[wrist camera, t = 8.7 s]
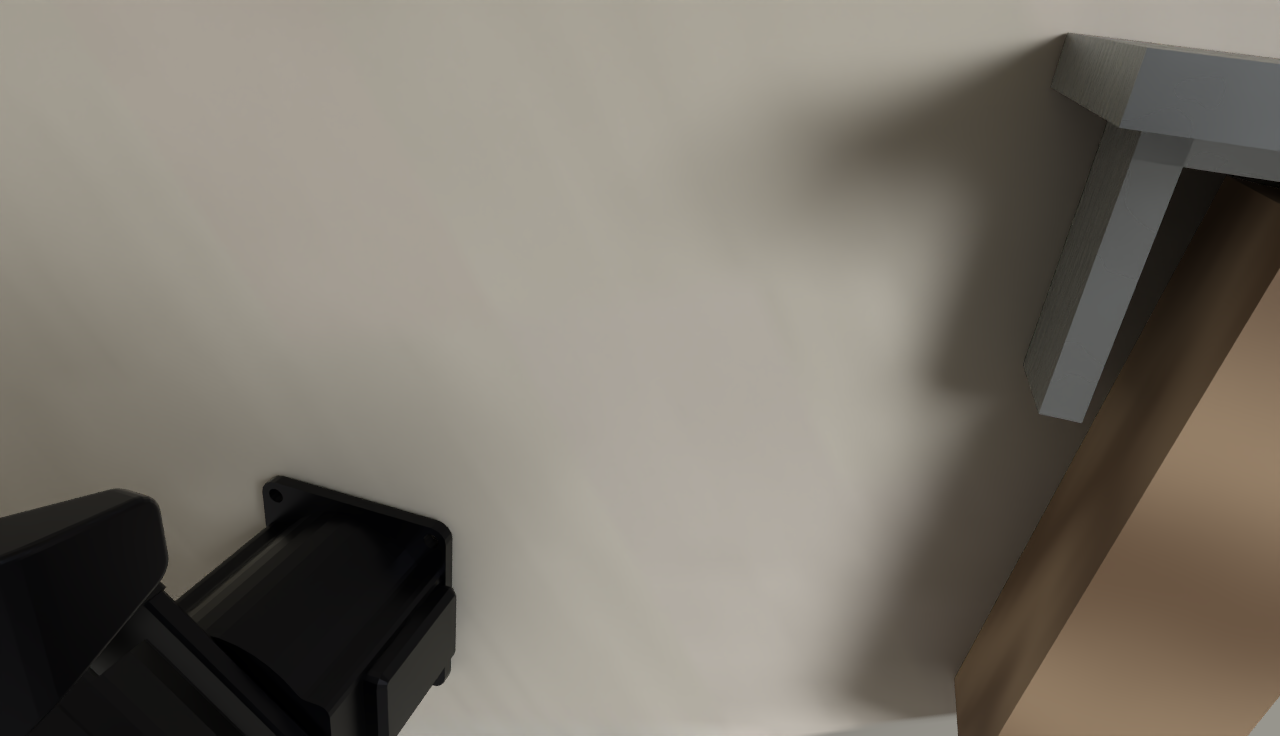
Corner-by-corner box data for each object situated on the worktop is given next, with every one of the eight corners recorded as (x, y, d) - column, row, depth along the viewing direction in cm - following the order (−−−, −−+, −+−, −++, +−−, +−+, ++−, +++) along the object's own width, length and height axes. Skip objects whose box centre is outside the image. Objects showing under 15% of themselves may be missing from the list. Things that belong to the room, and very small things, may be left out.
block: (1104, 727, 22) (1141, 866, 18) (953, 671, 23) (961, 795, 19) (1446, 229, 15) (1603, 295, 12) (1221, 173, 16) (1308, 219, 13)
